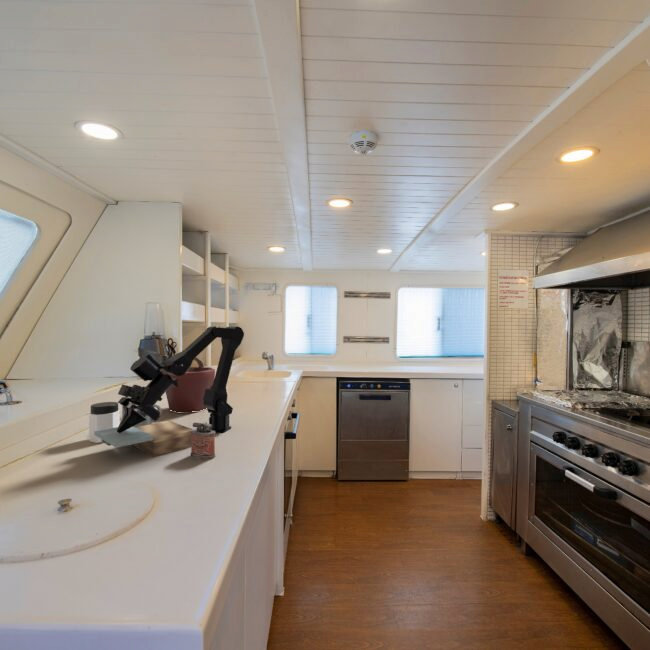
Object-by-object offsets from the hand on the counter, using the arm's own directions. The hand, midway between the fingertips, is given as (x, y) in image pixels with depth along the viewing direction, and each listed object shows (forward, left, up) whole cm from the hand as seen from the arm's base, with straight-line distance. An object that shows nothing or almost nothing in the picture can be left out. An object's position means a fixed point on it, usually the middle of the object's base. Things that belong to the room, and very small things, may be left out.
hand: (117, 432), depth 105 cm
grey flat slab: (-3, -6, -2) cm, 7 cm away
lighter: (-25, -4, -7) cm, 27 cm away
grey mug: (+15, -29, -7) cm, 33 cm away
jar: (+17, -13, -7) cm, 22 cm away
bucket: (+14, -59, -7) cm, 61 cm away
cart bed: (-7, -11, -7) cm, 15 cm away
